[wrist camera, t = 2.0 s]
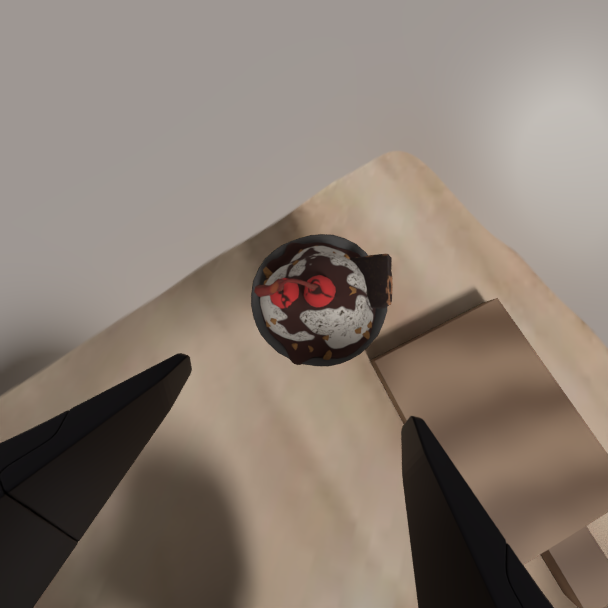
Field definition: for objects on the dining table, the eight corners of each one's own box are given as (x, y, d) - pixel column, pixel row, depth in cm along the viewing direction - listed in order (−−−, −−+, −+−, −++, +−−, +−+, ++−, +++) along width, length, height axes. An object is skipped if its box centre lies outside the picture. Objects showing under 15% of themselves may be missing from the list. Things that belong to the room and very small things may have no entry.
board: (648, 539, 17) (680, 557, 15) (512, 627, 16) (533, 654, 14) (484, 302, 21) (497, 298, 20) (369, 360, 20) (374, 360, 19)
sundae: (265, 343, 21) (160, 311, 6) (296, 279, 22) (272, 125, 7) (333, 375, 20) (398, 425, 5) (361, 306, 21) (475, 196, 7)
